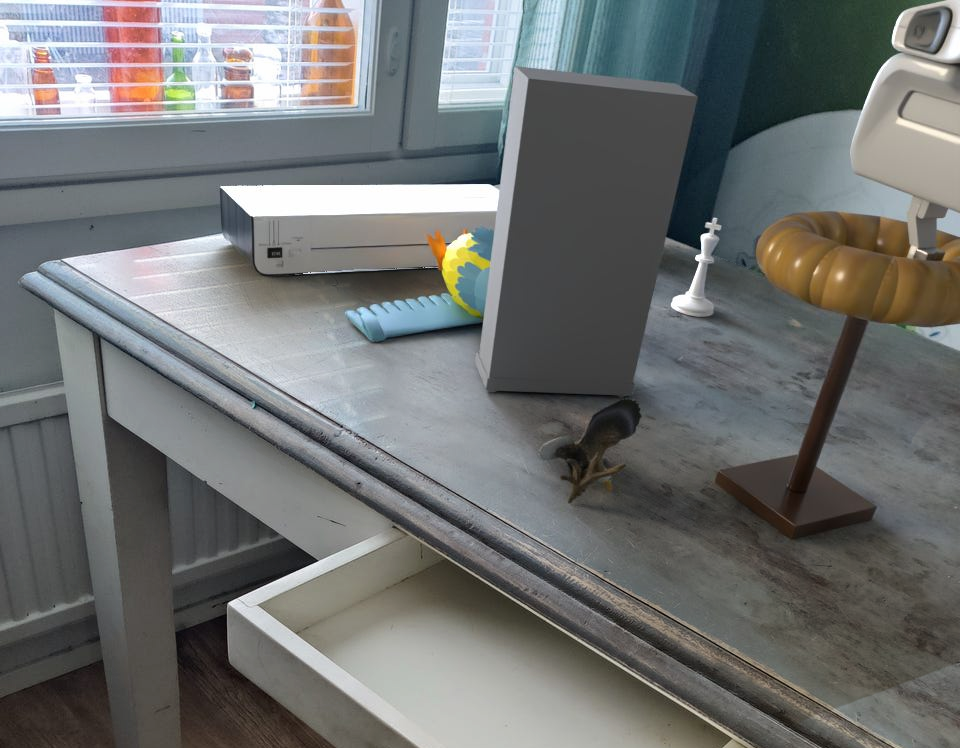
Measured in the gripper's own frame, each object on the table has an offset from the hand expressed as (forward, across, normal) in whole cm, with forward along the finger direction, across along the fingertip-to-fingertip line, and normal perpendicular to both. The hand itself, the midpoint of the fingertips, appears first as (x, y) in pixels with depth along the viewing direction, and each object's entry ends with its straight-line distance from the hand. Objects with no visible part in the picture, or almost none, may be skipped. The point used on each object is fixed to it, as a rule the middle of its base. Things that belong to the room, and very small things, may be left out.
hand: (949, 290), depth 64 cm
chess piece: (+19, +44, -21) cm, 52 cm away
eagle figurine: (+19, +14, +15) cm, 28 cm away
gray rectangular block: (+19, +31, +7) cm, 37 cm away
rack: (+19, +6, 0) cm, 20 cm away
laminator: (+19, +67, +8) cm, 70 cm away
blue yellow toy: (+19, +46, +6) cm, 50 cm away
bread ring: (0, +6, 0) cm, 6 cm away
